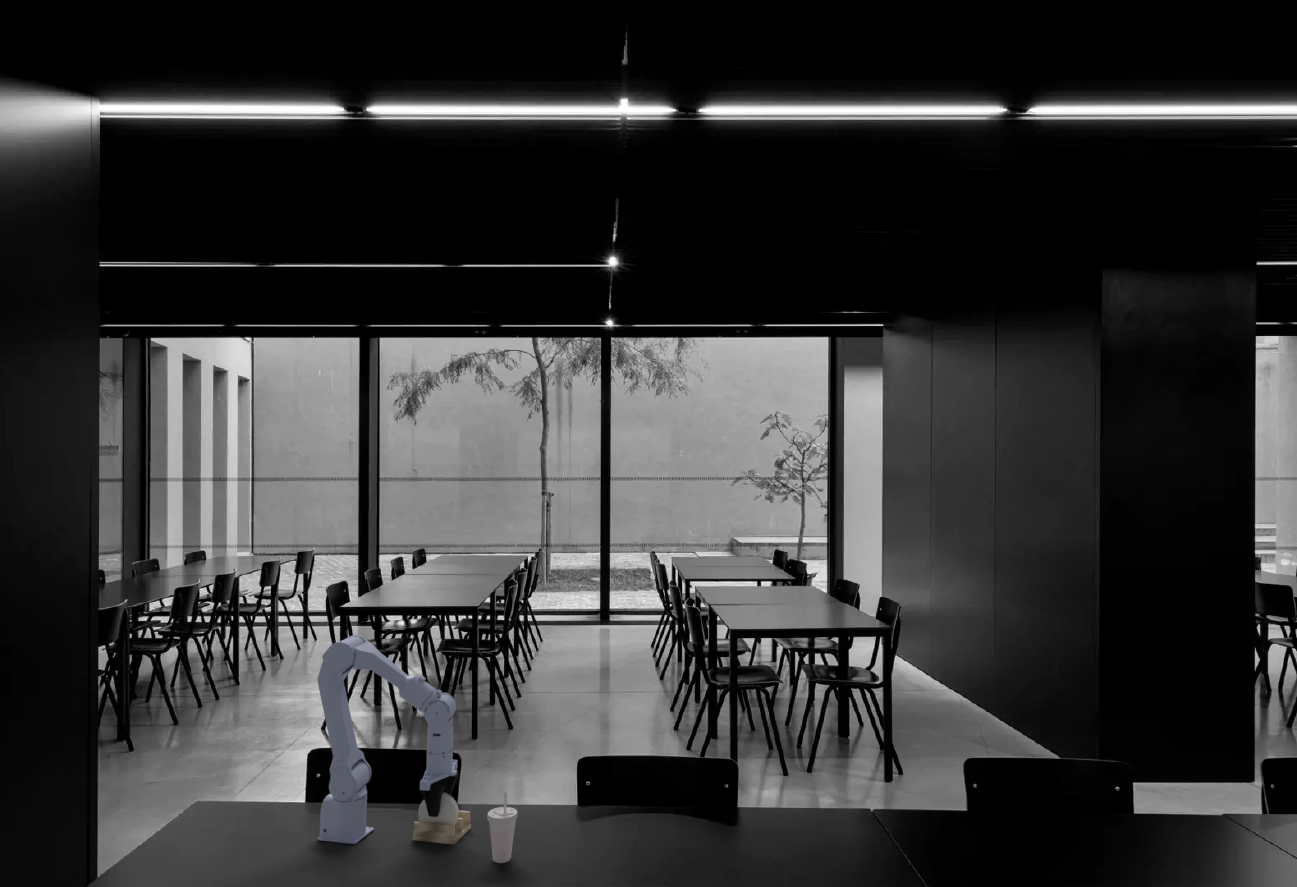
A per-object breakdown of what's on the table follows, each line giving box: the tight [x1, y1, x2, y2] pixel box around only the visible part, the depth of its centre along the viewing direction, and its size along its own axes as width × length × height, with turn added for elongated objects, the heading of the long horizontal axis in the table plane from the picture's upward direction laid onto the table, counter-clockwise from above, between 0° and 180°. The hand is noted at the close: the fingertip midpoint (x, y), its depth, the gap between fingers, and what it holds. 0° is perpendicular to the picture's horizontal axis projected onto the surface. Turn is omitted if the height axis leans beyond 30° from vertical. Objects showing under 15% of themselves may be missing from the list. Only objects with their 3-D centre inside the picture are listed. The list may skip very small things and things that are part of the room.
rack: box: [412, 809, 472, 845], centre depth 184 cm, size 10×9×4 cm
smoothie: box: [486, 790, 518, 864], centre depth 172 cm, size 6×6×14 cm
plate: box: [417, 792, 460, 825], centre depth 183 cm, size 9×2×9 cm, turn 78°
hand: (438, 811), depth 183 cm, fingers open, 4 cm apart
